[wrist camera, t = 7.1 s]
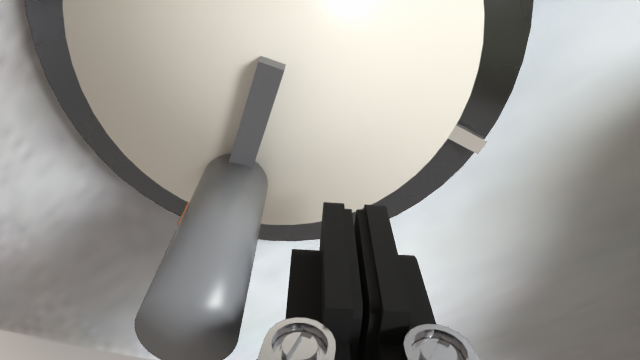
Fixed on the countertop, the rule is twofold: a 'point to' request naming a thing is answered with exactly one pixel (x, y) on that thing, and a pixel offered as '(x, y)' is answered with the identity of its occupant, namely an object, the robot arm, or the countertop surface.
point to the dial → (265, 124)
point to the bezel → (466, 138)
